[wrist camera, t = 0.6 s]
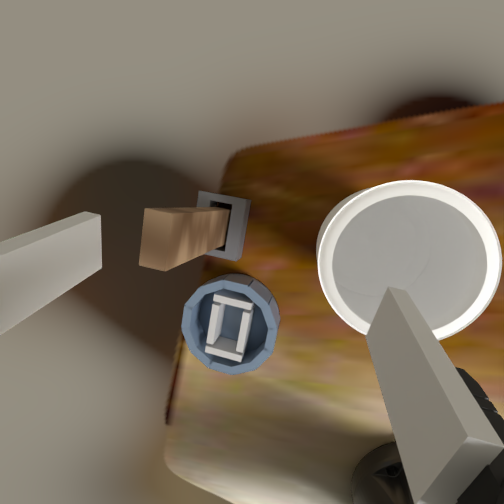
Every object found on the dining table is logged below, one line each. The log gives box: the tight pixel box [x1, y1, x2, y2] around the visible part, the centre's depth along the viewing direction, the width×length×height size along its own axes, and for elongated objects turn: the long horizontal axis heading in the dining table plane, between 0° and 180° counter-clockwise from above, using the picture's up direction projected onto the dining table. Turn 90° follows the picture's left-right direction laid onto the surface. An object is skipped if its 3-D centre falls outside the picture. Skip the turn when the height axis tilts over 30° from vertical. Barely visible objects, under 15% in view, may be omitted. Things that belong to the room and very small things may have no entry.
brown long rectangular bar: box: [139, 207, 232, 271], centre depth 27 cm, size 4×2×16 cm, turn 169°
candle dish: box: [181, 273, 280, 375], centre depth 35 cm, size 11×11×4 cm
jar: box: [316, 180, 502, 340], centre depth 25 cm, size 11×10×15 cm
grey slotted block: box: [197, 191, 251, 261], centre depth 34 cm, size 7×6×2 cm
